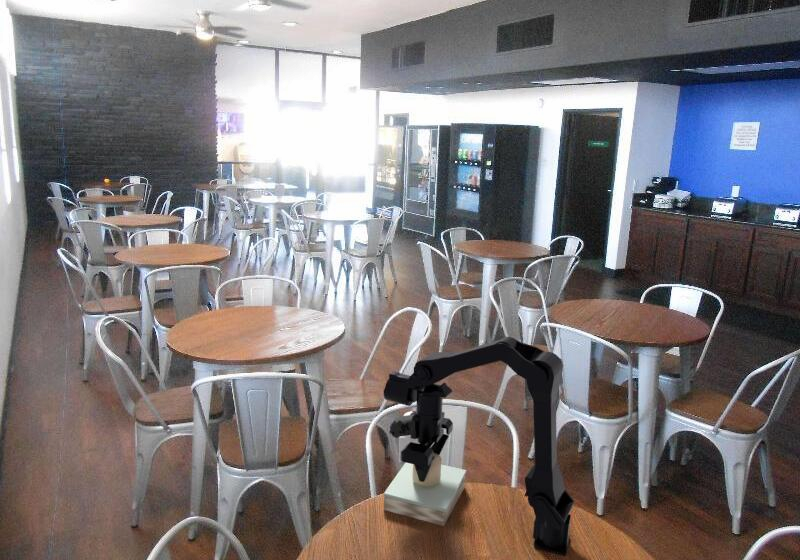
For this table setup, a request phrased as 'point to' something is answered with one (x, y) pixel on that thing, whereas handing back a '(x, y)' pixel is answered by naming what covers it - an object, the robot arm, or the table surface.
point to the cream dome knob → (430, 473)
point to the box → (422, 508)
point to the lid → (426, 488)
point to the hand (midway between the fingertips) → (426, 473)
